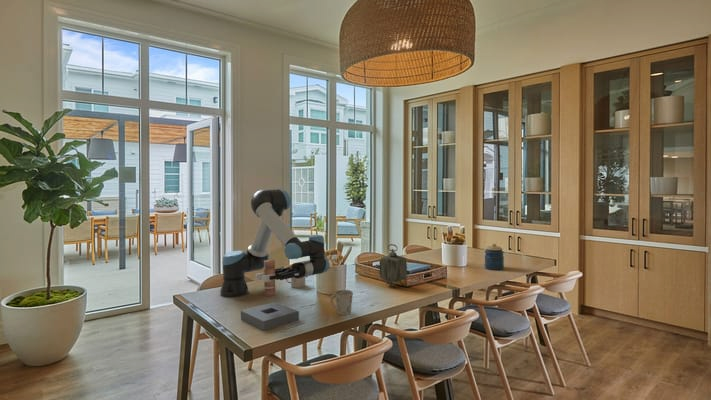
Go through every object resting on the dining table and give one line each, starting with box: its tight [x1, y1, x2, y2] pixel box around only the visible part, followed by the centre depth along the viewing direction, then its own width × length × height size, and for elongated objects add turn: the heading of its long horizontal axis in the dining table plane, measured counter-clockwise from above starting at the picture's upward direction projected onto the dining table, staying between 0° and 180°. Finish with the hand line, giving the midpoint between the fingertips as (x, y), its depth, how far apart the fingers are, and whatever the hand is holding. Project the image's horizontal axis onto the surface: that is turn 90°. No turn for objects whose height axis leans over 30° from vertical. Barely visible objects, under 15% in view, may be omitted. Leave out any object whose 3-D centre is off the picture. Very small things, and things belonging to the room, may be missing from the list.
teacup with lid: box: [285, 277, 306, 289], centre depth 236 cm, size 12×9×12 cm
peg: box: [263, 259, 276, 298], centre depth 178 cm, size 5×5×16 cm
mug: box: [329, 289, 354, 316], centre depth 187 cm, size 8×13×10 cm, turn 58°
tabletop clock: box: [379, 243, 408, 288], centre depth 233 cm, size 14×9×25 cm, turn 50°
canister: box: [484, 243, 505, 271], centre depth 277 cm, size 13×13×18 cm
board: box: [240, 301, 300, 331], centre depth 179 cm, size 20×18×4 cm
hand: (259, 278), depth 174 cm, fingers closed on peg, 5 cm apart
